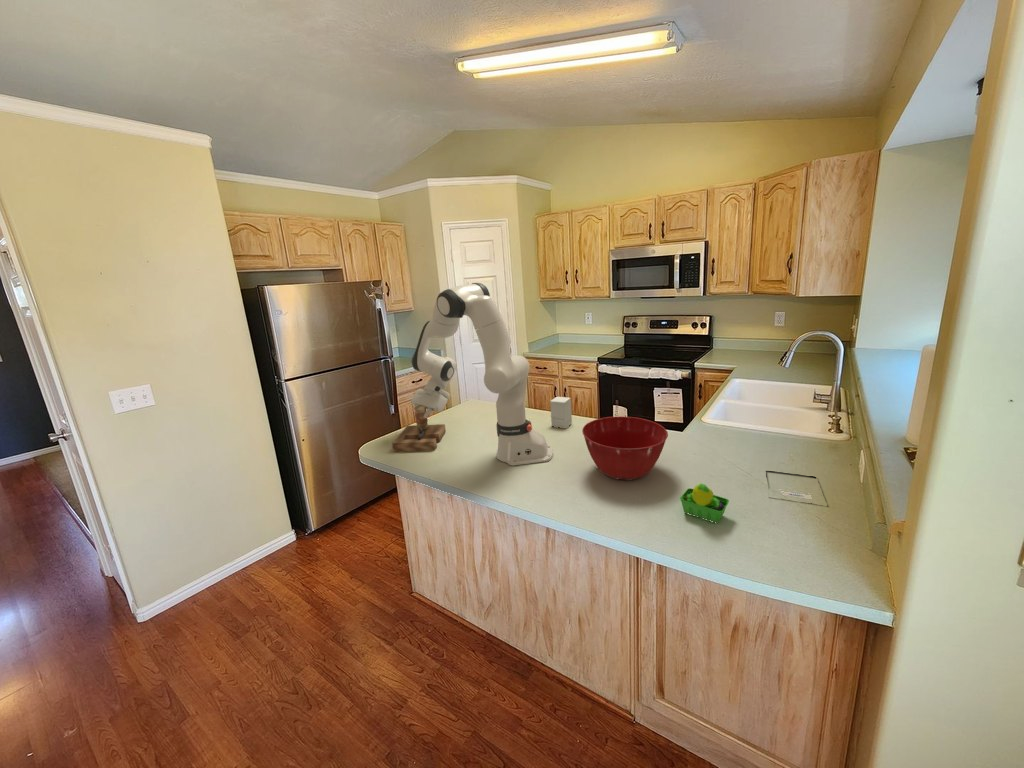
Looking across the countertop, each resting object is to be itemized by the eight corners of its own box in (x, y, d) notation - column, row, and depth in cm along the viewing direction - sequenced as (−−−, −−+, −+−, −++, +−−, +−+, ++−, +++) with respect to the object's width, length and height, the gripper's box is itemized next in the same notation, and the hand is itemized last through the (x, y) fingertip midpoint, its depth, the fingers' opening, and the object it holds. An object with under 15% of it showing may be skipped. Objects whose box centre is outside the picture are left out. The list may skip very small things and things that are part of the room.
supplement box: (572, 423, 195) (571, 397, 192) (565, 429, 189) (564, 402, 186) (558, 421, 199) (556, 396, 196) (551, 426, 193) (549, 400, 190)
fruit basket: (728, 515, 119) (731, 479, 116) (719, 530, 113) (721, 493, 110) (687, 502, 127) (689, 468, 124) (676, 516, 121) (677, 481, 118)
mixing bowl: (663, 455, 158) (664, 416, 153) (670, 495, 131) (671, 449, 127) (587, 451, 165) (586, 414, 161) (579, 488, 139) (577, 445, 135)
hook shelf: (445, 432, 196) (443, 416, 194) (435, 450, 177) (432, 432, 175) (408, 433, 198) (405, 417, 196) (393, 452, 179) (390, 434, 177)
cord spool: (429, 425, 193) (427, 405, 191) (426, 429, 188) (423, 408, 186) (418, 426, 194) (415, 405, 191) (415, 430, 189) (412, 409, 186)
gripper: (416, 383, 198) (401, 409, 194) (444, 389, 184) (428, 417, 180) (425, 390, 202) (411, 415, 198) (452, 396, 189) (438, 423, 185)
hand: (419, 416), depth 189 cm, fingers closed on cord spool, 5 cm apart
